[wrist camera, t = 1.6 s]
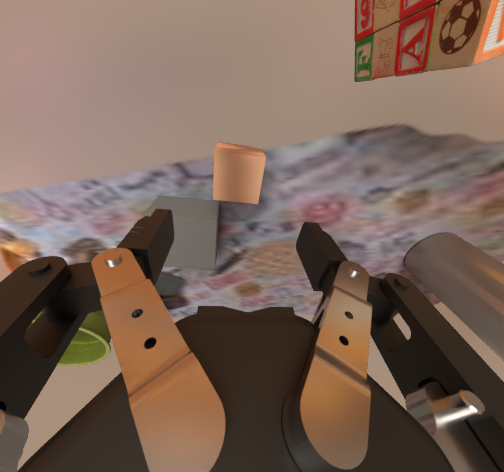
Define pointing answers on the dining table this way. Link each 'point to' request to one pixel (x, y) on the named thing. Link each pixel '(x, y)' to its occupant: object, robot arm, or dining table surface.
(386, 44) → the stack of blocks
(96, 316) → the plant pot
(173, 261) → the grey base block
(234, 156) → the terracotta cube
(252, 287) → the dining table surface
